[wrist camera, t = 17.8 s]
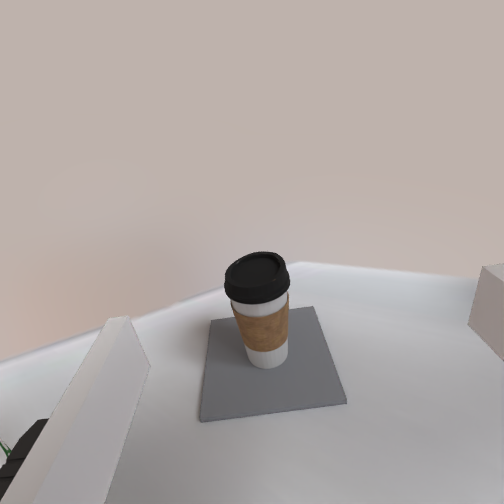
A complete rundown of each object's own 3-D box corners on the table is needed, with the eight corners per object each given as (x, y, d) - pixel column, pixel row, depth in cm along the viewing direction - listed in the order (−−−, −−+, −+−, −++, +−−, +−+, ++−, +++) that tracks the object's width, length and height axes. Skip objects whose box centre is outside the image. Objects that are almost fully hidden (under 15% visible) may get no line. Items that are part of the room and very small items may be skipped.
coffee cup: (308, 348, 44) (302, 260, 37) (269, 388, 39) (254, 295, 32) (266, 324, 49) (254, 244, 42) (228, 356, 44) (207, 271, 37)
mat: (313, 309, 52) (313, 306, 52) (346, 403, 36) (346, 399, 36) (212, 323, 53) (211, 320, 52) (200, 422, 37) (199, 418, 36)
